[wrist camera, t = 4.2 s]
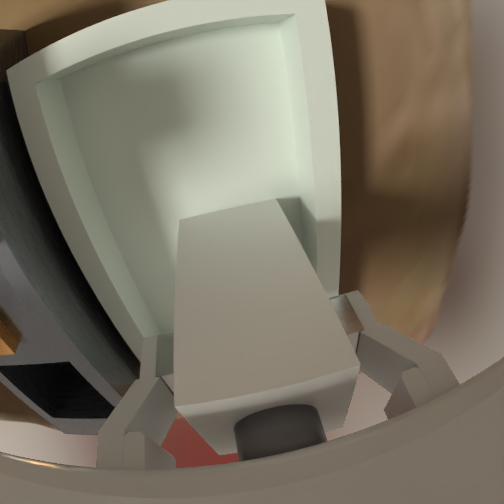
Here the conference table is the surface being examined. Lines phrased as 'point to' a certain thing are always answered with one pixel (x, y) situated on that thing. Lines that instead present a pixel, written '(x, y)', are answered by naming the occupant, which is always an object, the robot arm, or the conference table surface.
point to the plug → (256, 336)
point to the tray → (182, 139)
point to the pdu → (49, 295)
